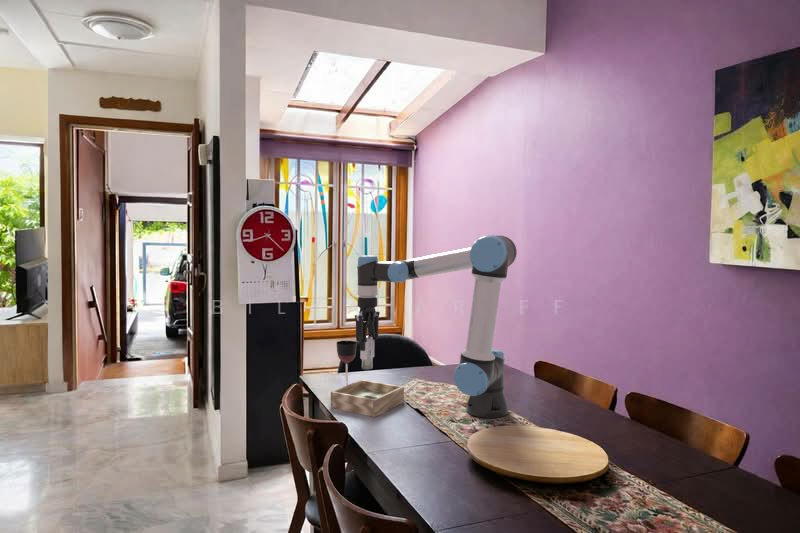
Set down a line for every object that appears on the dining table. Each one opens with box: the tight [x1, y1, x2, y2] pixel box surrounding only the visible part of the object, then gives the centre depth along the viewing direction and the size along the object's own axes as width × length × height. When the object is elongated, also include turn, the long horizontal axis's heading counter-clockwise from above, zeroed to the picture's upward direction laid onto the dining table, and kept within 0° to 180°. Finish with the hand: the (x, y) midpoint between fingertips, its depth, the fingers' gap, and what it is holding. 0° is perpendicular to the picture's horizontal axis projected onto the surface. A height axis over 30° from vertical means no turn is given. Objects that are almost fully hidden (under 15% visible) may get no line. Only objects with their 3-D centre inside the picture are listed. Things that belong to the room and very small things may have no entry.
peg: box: [361, 335, 374, 370], centre depth 200 cm, size 4×4×12 cm
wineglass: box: [336, 340, 358, 386], centre depth 221 cm, size 8×9×20 cm
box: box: [330, 379, 405, 418], centre depth 201 cm, size 20×20×6 cm
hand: (367, 357), depth 200 cm, fingers closed on peg, 4 cm apart
